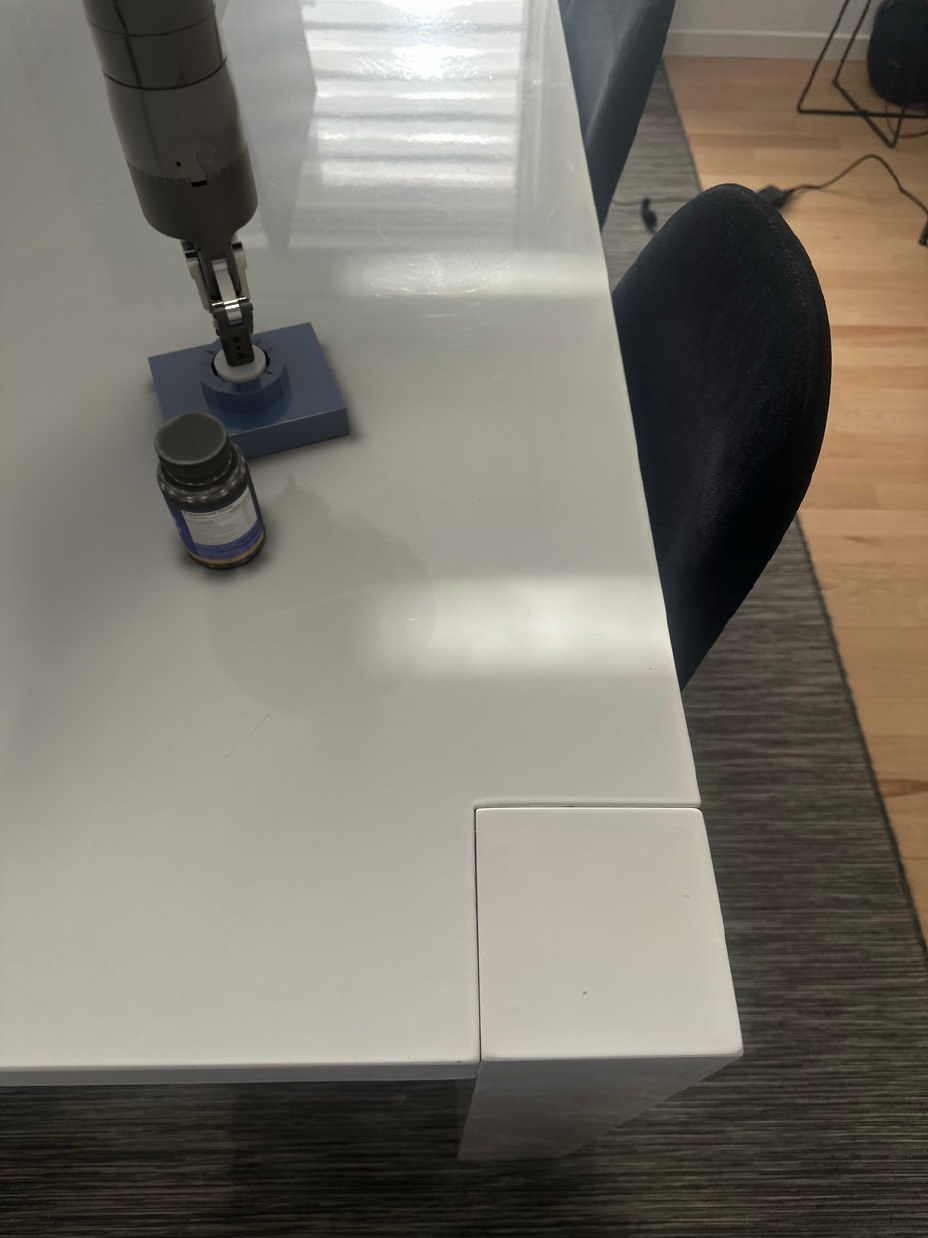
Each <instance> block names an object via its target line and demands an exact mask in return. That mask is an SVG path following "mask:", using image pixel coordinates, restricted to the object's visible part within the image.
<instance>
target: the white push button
mask: <svg viewBox="0 0 928 1238" xmlns="http://www.w3.org/2000/svg"><path fill="white" fill-rule="evenodd" d="M252 347H253V351H254V356H255V360H254V361H253V362H252V363H249V364H244V365H240V366H236V367H230V366H229V365H228V364H227V361H226V358H225V355H224V352H223V349H222V350H220V351H219V352H218V353H217V355H216V357H215V360H214V365H215V368H216V372H217V375H218V378H220V379H221V380H223V381H225V382H232V383H243V382H248V381H252V380H255V379H257V378H258V377H260V376H261V375H262V374H264V373H265V372H266V371H267V363H266V359H265V355H264V353H263V351H262V350H261V349H260V348H259V347H257V346H255V345H252Z"/></svg>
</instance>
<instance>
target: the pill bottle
mask: <svg viewBox="0 0 928 1238" xmlns="http://www.w3.org/2000/svg"><path fill="white" fill-rule="evenodd" d="M153 439H154V441H153V442H154V443H153V445H154V450H155V452H156V454H157V457H158V464H157V468H156V481H157V482H156V483H157V486H158V487H159V490H160V492H161V494H162V496H163V499H164V501H165V503H166V507H167V508H168V511H169V513H170V516H171V517H172V520H173V522H174V525H175V527H176V529H177V531H178V533H179V537H180V539H181V541H182V543H183V545H184V548H185V550H186V552H187V553H188V554H189V555H190V556H191V557H193V559H194V560H195V562H197V563H199V564H201V565H202V566H204V567H208V568H212V569H229V568H233V567H237V566H239V565H242V564H244V563H246V562H248V561H249V560H251V559H252V558H254V556H255V555H256V554H257V553H258V552H259V550H260V549H261V548H262V545H263V543H264V539H265V536H266V525H265V522H264V518H263V514H262V510H261V507H260V502H259V499H258V496H257V491H256V489H255V485H254V482H253V478H252V475H251V471H250V467H249V463H248V459H246V457H245V455H244V454H243V452H242V450H241V449H240V448H239V447H238V446H237V445H236V444H235V443H233V442H232V441H230V438H229V436H228V433H227V430H226V428H225V426H224V424H223V423H222V422H221V421H220V420H219V419H218V418H216V417H215V416H213V415H210V414H207V413H203V412H188V413H182V414H179V415H177V416H174V417H172V418H170V419H169V420H167V421H166V422H165V423H162V424H161V425H160V426H159V428H158V429H157V431H156V433H155V436H154V438H153Z"/></svg>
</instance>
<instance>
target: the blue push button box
mask: <svg viewBox="0 0 928 1238" xmlns="http://www.w3.org/2000/svg"><path fill="white" fill-rule="evenodd" d="M250 339H251V343H252V345H255V346H257V347H259V348H260V349H261V350H262V351H263V353H264V355H265V359H266V363H267V371H266V372H265V373H264V374H262V375H261V376H260V377H258V378H257V379H255V380H252V381H248V382H243V383H232V382H225V381H223V380H221V379H220V378H218V375H217V372H216V368H215V365H214V360H215V357H216V355H217V353H218V352H219V351H220V350H222V345H221V342H220V338H217V339H216V340H214V341H213V342H211V343H207V344H203V345H198V346H193V347H187V348H183V349H179V350H175V351H170V352H165V353H161V354H156V355H152V356H148V357H147V362H148V365H149V366H148V367H149V370H150V374H151V377H152V381H153V385H154V389H155V392H156V395H157V399H158V403H159V407H160V411H161V415H162V419H163V422H164V423H165V422H166V421H167V420H169V419H170V418H172V417H174V416H177V415H179V414H182V413H188V412H203V413H207V414H210V415H213V416H215V417H216V418H218V419H219V420H220V421H221V422H222V423H223V424H224V426H225V428H226V430H227V433H228V436H229V438H230V441H232V442H233V443H235V444H236V445H237V446H238V447H239V448H240V449H241V450H242V452H243V454H244V455H245V457H246V460H249V459H254V458H259V457H262V456H265V455H271V454H274V453H278V452H282V451H285V450H290V449H294V448H298V447H302V446H306V445H309V444H315V443H319V442H321V441H325V440H326V441H327V440H330V439H334V438H337V437H342V436H346V435H350V423H349V414H348V407H347V405H346V402H345V400H344V397H343V395H342V392H341V390H340V388H339V386H338V383H337V381H336V379H335V376H334V374H333V372H332V369H331V366H330V365H329V362H328V360H327V358H326V355H325V352H324V350H323V348H322V345H321V343H320V341H319V339H318V336H317V334H316V331H315V329H314V327H313V324H312V322H311V321H307V322H303V323H299V324H293V325H289V326H285V327H280V328H275V329H272V330H266V331H262V332H257V333H253V334H250ZM164 423H163V424H164Z"/></svg>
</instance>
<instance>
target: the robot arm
mask: <svg viewBox="0 0 928 1238" xmlns="http://www.w3.org/2000/svg"><path fill="white" fill-rule="evenodd" d="M79 1H80V4H81V8H82V11H83V14H84V18H85V20H86V23H87V27H88V30H89V34H90V36H91V39H92V40H91V41H92V42H93V45H94V49H95V53H96V55H97V58H98V62H99V64H100V68H101V72H102V76H103V80H104V85H105V90H106V96H107V102H108V106H109V111H110V115H111V118H112V121H113V124H114V127H115V130H116V134H117V137H118V141H119V143H120V146H121V149H122V153H123V155H124V158H125V162H126V164H127V168H128V171H129V173H130V177H131V180H132V183H133V186H134V190H135V193H136V196H137V199H138V202H139V206H140V208H141V211H142V215H143V217H144V219H145V220H146V222H147V223H148V224H149V226H151V227H152V228H153V229H154V230H156V231H157V232H158V233H160V234H161V235H163V236H166V237H169V238H171V239H175V240H179V244H180V246H181V250H182V254H183V256H184V258H185V262H186V265H187V268H188V271H189V275H190V277H191V279H192V280H194V282H195V286H196V288H197V291H198V294H199V299H200V301H201V304H202V307H203V309H204V310H205V311H207V312H208V314H211V317H212V319H213V320H211V323H212V326H213V329H214V331H215V333H216V334H215V335H216V336H217V337H219V338H220V342H221V345H222V349H223V352H224V355H225V358H226V361H227V364H228V365H229V366H230V367H236V366H240V365H244V364H249V363H252V362H253V361H254V360H255V356H254V351H253V347H252V343H251V339H250V334H254V328H255V326H254V313H253V311H255V310H254V306H253V305H254V304H253V303H252V302H250V301H251V294H250V288H249V285H248V284H249V283H248V279H247V275H246V270H247V268H248V262H247V256H246V253H245V249H244V245H243V243H242V240H239V236H238V231H239V230H240V229H242V228H243V227H245V226H247V224H248V223H249V222H250V221H251V220H252V219H253V217H254V216H255V214H256V212H257V209H258V205H259V204H258V203H259V196H258V191H257V186H256V180H255V174H254V169H253V164H252V159H251V155H250V148H249V143H248V139H247V133H246V128H245V123H244V118H243V112H242V107H241V102H240V97H239V94H238V89H237V86H236V82H235V79H234V77H233V73H232V71H231V68H230V65H229V60H228V56H227V52H226V47H225V42H224V36H223V31H222V27H221V26H222V25H221V21H220V15H219V11H218V6H217V0H79ZM219 338H218V339H219Z"/></svg>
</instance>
